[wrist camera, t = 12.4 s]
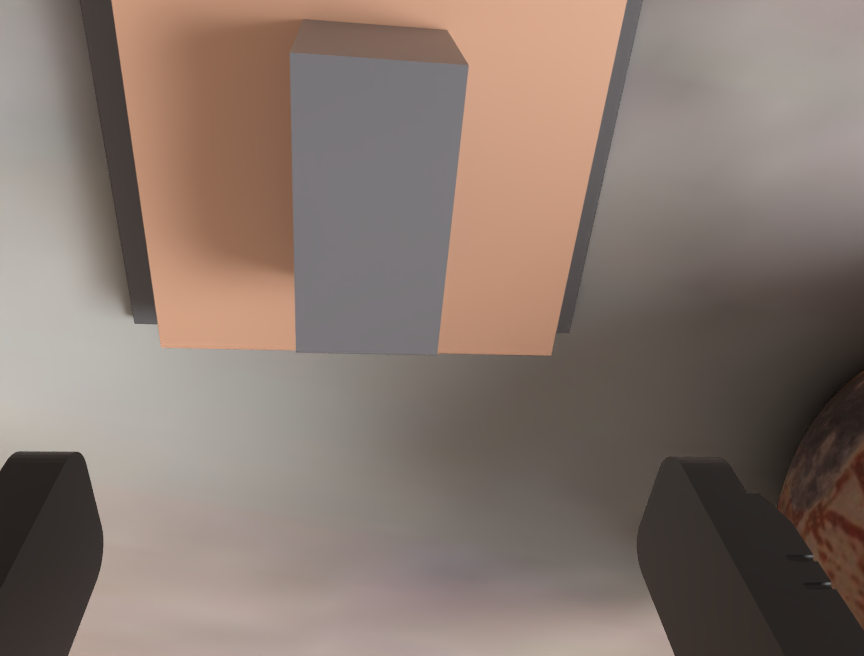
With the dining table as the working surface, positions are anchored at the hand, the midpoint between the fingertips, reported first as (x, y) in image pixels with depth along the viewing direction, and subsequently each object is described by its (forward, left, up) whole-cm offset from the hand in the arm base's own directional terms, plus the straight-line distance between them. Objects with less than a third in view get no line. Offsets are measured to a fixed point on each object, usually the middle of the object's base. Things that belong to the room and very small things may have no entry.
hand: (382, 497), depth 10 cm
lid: (0, 0, -16) cm, 16 cm away
